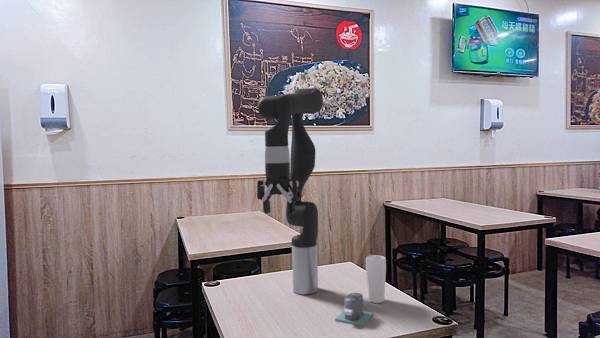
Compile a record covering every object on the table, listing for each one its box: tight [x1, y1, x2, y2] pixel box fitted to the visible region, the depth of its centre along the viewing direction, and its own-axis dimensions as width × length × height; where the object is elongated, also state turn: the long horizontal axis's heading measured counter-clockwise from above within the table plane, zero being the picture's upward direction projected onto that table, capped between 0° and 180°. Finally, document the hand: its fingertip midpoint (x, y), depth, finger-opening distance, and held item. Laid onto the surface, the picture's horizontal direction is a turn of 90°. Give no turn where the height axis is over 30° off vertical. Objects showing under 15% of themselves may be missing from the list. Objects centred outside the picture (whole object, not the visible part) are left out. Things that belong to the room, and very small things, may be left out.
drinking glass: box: [365, 254, 387, 304], centre depth 141 cm, size 7×7×15 cm
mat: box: [334, 310, 374, 327], centre depth 128 cm, size 9×9×1 cm
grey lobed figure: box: [342, 292, 364, 321], centre depth 127 cm, size 9×4×6 cm, turn 151°
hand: (279, 213), depth 127 cm, fingers open, 8 cm apart
